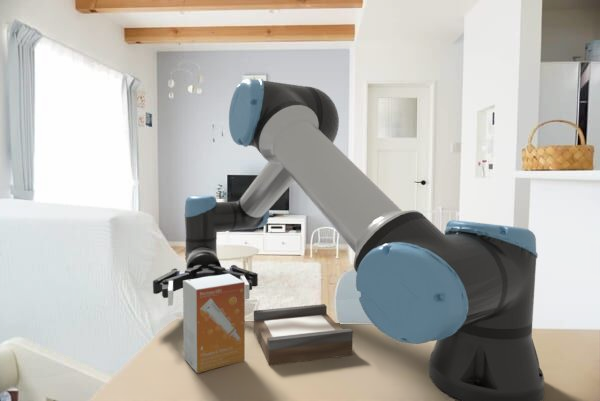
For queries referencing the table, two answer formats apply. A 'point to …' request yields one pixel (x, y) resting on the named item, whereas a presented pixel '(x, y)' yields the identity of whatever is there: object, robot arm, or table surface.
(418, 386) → the table surface
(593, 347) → the table surface
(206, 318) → the small box
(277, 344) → the tray
